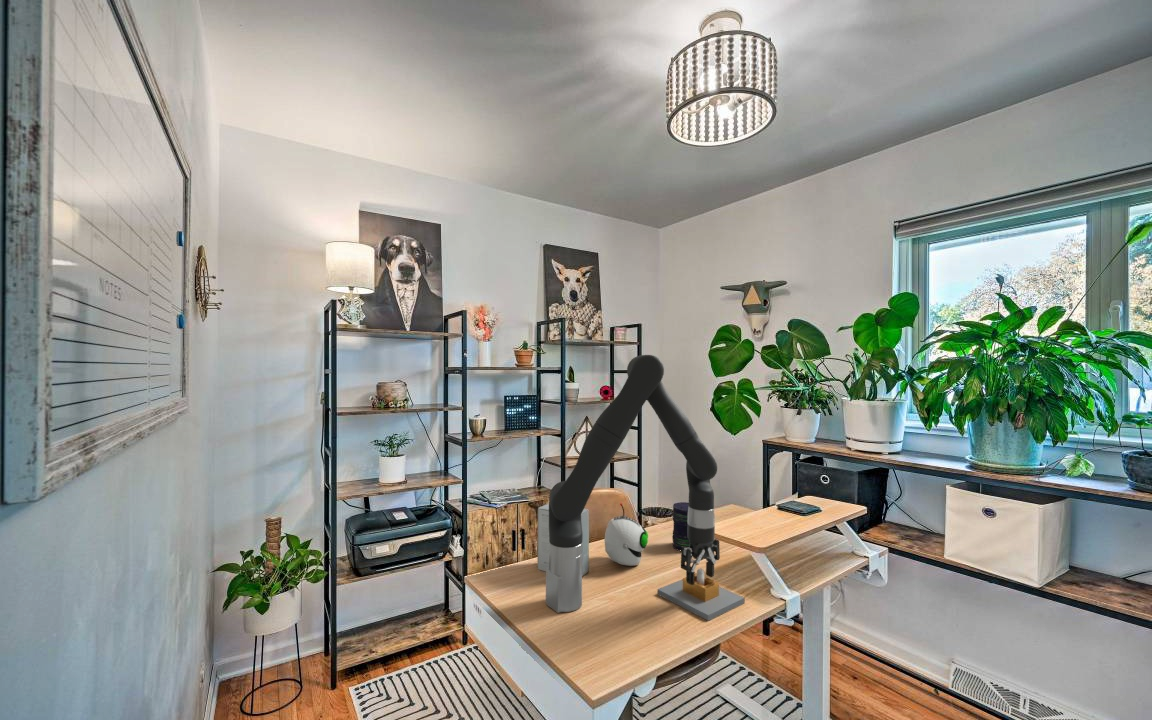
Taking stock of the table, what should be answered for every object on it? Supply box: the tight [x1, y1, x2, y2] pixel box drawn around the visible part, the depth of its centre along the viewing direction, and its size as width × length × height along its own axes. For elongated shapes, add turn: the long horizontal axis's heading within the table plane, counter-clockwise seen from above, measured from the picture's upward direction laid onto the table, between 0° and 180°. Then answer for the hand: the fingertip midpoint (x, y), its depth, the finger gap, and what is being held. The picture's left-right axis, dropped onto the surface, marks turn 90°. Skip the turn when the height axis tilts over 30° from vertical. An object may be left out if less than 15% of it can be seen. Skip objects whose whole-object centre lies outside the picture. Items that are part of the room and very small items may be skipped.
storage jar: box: [671, 501, 690, 552], centre depth 177 cm, size 10×10×15 cm
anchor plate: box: [657, 568, 746, 622], centre depth 139 cm, size 16×18×8 cm
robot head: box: [604, 503, 649, 567], centre depth 162 cm, size 16×14×20 cm
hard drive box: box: [536, 503, 590, 577], centre depth 156 cm, size 16×8×20 cm, turn 59°
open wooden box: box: [682, 572, 720, 602], centre depth 139 cm, size 6×8×4 cm
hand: (700, 579), depth 139 cm, fingers open, 8 cm apart
